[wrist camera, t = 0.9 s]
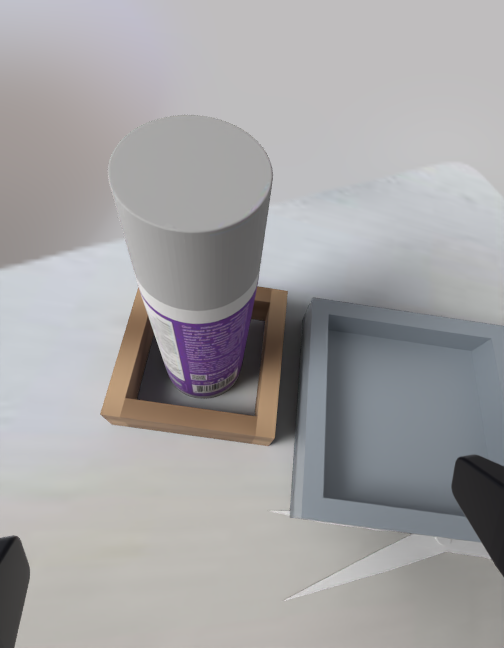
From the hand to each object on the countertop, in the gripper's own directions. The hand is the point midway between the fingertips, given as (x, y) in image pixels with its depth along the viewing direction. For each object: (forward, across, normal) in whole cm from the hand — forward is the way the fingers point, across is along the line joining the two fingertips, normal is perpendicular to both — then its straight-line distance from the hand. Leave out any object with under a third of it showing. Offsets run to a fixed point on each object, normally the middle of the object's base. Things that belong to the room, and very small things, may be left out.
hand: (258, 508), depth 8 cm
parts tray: (+12, -11, +8) cm, 18 cm away
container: (+16, 0, +4) cm, 16 cm away
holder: (+16, 0, +4) cm, 16 cm away
